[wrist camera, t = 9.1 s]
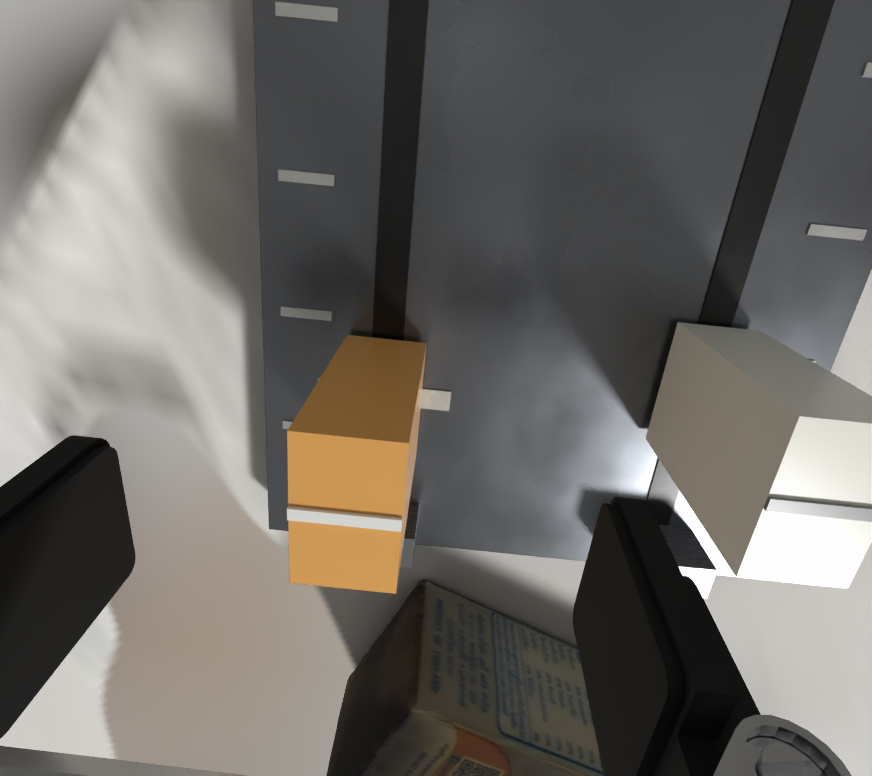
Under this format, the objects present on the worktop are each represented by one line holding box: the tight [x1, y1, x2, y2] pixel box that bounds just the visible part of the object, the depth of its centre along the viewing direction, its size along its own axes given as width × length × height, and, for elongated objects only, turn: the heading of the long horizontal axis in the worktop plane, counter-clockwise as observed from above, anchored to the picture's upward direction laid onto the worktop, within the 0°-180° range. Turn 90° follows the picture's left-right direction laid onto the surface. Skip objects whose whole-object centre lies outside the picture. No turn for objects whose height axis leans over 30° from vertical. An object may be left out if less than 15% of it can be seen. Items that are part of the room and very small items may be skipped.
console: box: [253, 0, 872, 598], centre depth 16 cm, size 21×18×4 cm
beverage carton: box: [327, 580, 604, 776], centre depth 23 cm, size 8×19×7 cm, turn 62°
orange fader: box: [287, 335, 427, 594], centre depth 15 cm, size 4×2×7 cm, turn 175°
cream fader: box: [646, 322, 872, 589], centre depth 14 cm, size 4×2×7 cm, turn 175°
